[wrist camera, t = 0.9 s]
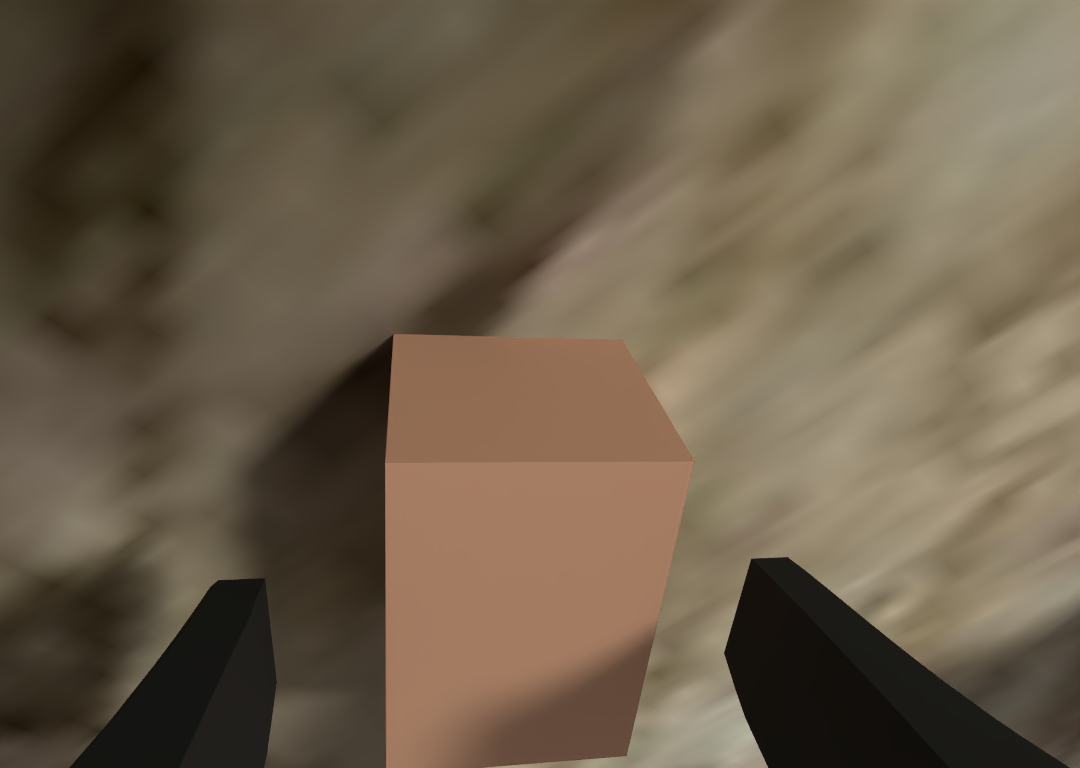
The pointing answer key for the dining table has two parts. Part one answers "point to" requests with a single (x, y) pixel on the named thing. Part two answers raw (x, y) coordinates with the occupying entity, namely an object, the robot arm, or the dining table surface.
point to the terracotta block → (522, 547)
